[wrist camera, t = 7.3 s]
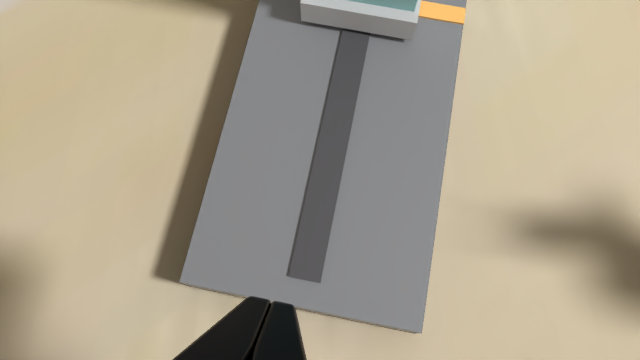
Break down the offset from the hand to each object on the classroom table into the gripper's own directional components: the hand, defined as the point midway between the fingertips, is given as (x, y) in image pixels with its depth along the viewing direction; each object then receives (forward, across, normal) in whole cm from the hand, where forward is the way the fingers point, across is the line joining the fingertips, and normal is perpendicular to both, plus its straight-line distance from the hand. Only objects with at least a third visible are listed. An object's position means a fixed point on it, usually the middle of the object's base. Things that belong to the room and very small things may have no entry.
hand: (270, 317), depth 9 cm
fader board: (+14, 0, +1) cm, 14 cm away
